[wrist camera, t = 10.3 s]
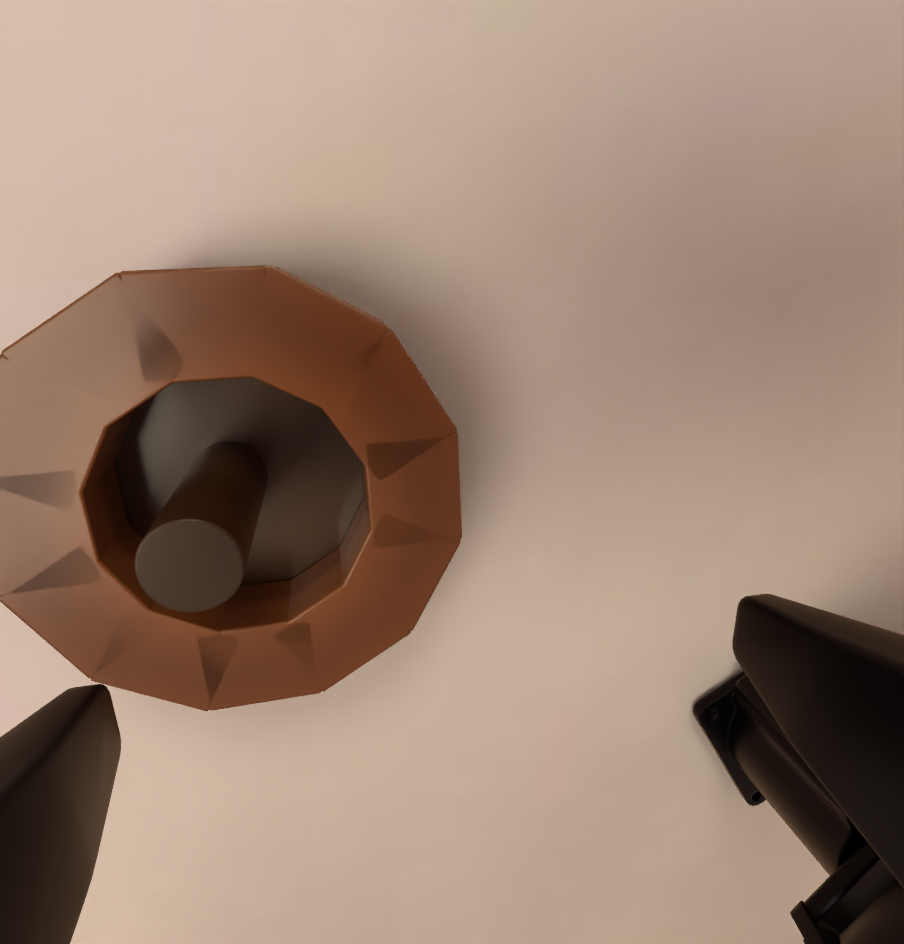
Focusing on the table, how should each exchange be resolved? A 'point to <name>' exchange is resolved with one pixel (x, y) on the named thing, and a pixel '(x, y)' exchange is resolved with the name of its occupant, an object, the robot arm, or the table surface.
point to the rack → (232, 489)
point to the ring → (115, 542)
